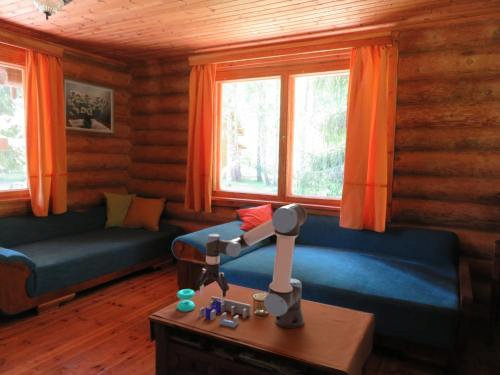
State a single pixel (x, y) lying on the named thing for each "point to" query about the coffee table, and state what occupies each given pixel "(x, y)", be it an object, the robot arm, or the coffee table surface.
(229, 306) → the grey peg rack
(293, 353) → the coffee table surface
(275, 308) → the robot arm
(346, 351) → the coffee table surface
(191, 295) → the donuts
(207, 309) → the blue curved block
